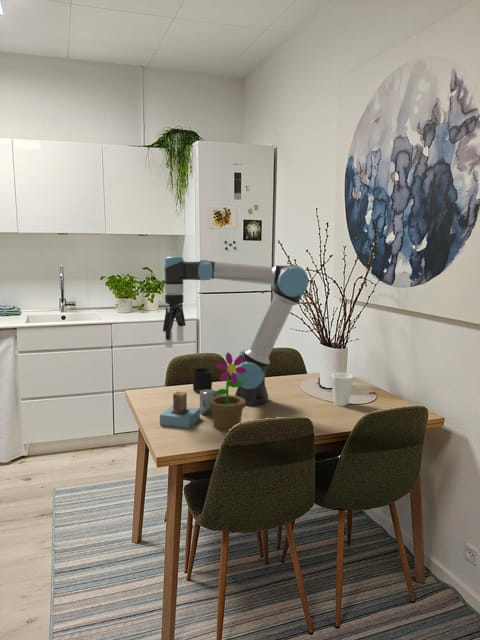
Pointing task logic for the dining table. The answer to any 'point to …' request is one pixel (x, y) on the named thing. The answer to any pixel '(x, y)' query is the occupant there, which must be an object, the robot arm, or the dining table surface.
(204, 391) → the round peg
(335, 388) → the foam cup
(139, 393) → the dining table surface
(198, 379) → the pen holder
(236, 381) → the flowerpot
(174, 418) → the bore block
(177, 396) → the square peg
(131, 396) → the dining table surface
